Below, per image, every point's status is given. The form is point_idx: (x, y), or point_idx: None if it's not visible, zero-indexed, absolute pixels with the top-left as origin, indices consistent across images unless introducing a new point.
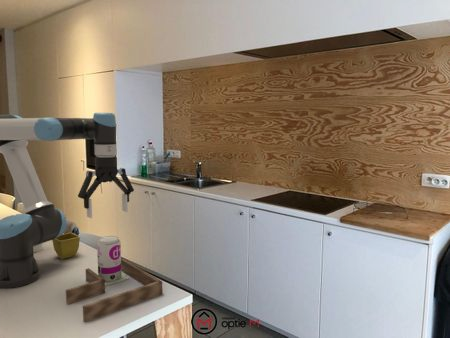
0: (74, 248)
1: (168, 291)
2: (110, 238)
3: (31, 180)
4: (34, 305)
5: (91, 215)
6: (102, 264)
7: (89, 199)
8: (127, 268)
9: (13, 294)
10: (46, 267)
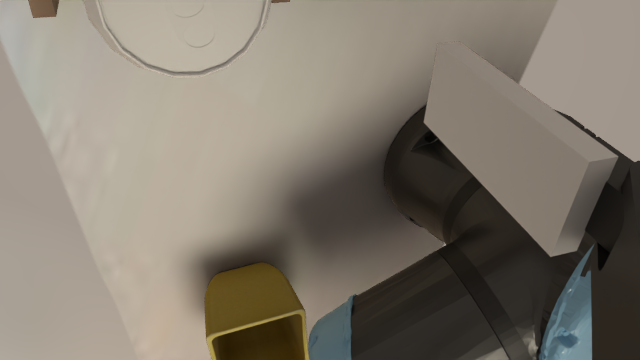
0: (226, 291)
1: None
2: (164, 11)
3: None
4: None
5: (457, 52)
6: None
7: (605, 170)
8: None
9: (518, 34)
10: (341, 212)
